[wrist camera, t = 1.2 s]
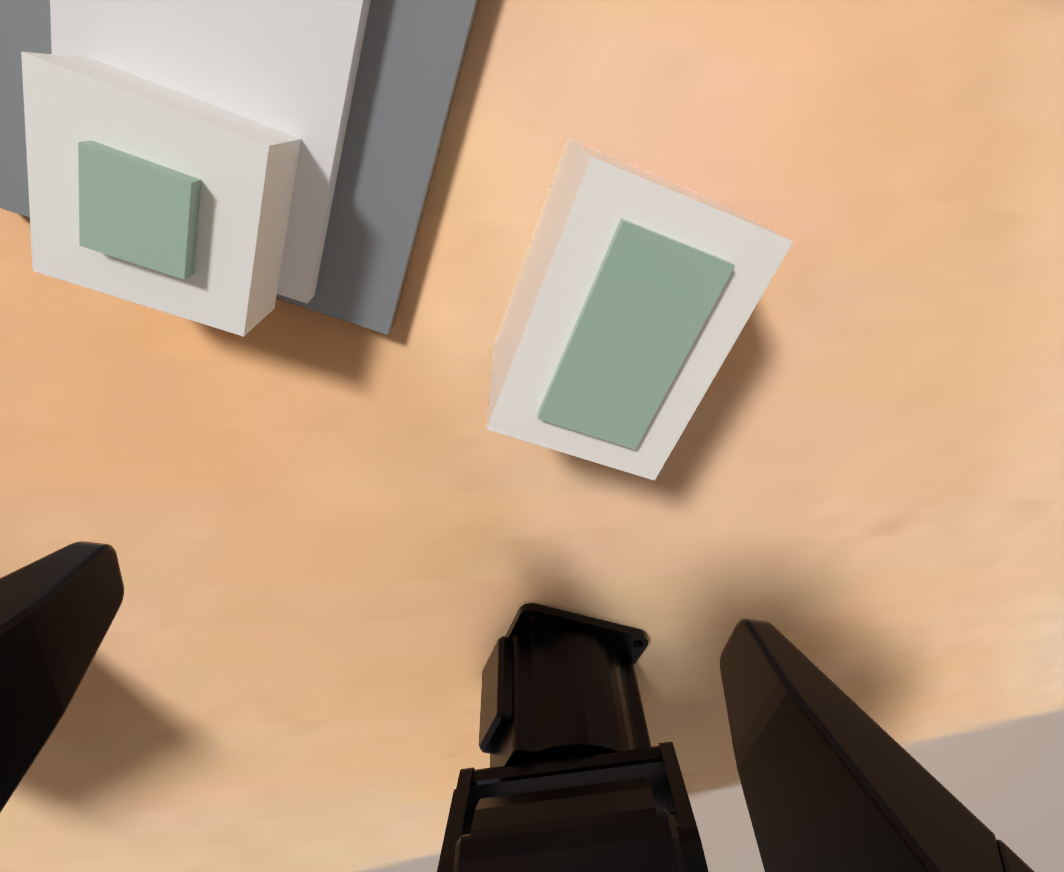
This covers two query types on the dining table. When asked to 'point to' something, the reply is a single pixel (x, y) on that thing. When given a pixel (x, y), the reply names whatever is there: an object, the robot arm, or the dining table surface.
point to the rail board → (228, 147)
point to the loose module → (623, 312)
